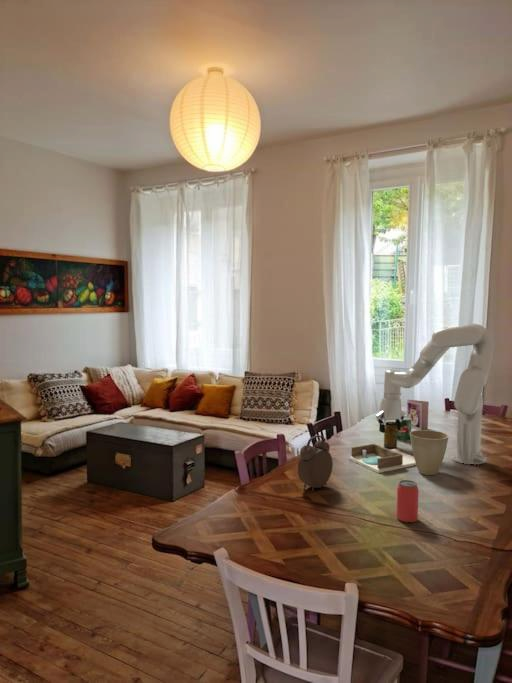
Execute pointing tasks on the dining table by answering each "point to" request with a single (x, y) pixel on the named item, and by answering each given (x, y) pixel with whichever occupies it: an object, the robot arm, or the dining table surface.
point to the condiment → (390, 436)
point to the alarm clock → (315, 463)
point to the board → (372, 459)
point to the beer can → (407, 501)
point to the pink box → (418, 413)
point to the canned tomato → (404, 430)
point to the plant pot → (428, 450)
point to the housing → (388, 456)
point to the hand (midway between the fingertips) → (389, 431)
